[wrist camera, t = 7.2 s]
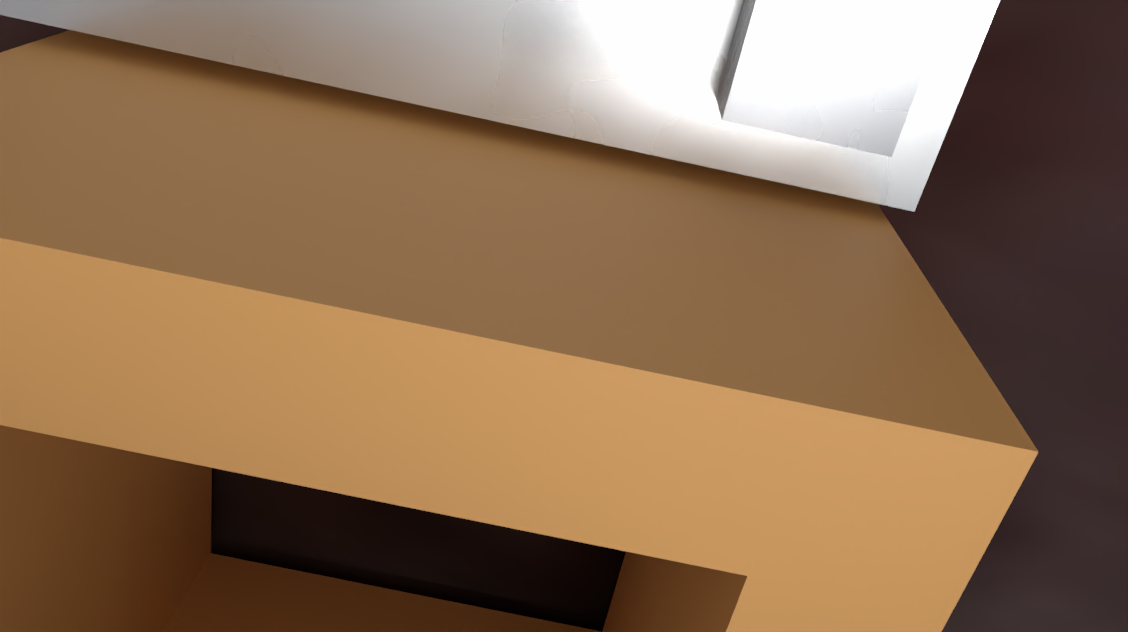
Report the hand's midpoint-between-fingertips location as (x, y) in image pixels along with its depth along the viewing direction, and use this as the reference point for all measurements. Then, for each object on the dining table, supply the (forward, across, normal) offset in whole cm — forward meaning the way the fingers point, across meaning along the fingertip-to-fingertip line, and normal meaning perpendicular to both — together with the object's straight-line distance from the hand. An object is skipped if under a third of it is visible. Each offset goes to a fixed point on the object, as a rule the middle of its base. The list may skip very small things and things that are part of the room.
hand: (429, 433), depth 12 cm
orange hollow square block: (0, 0, 0) cm, 0 cm away
